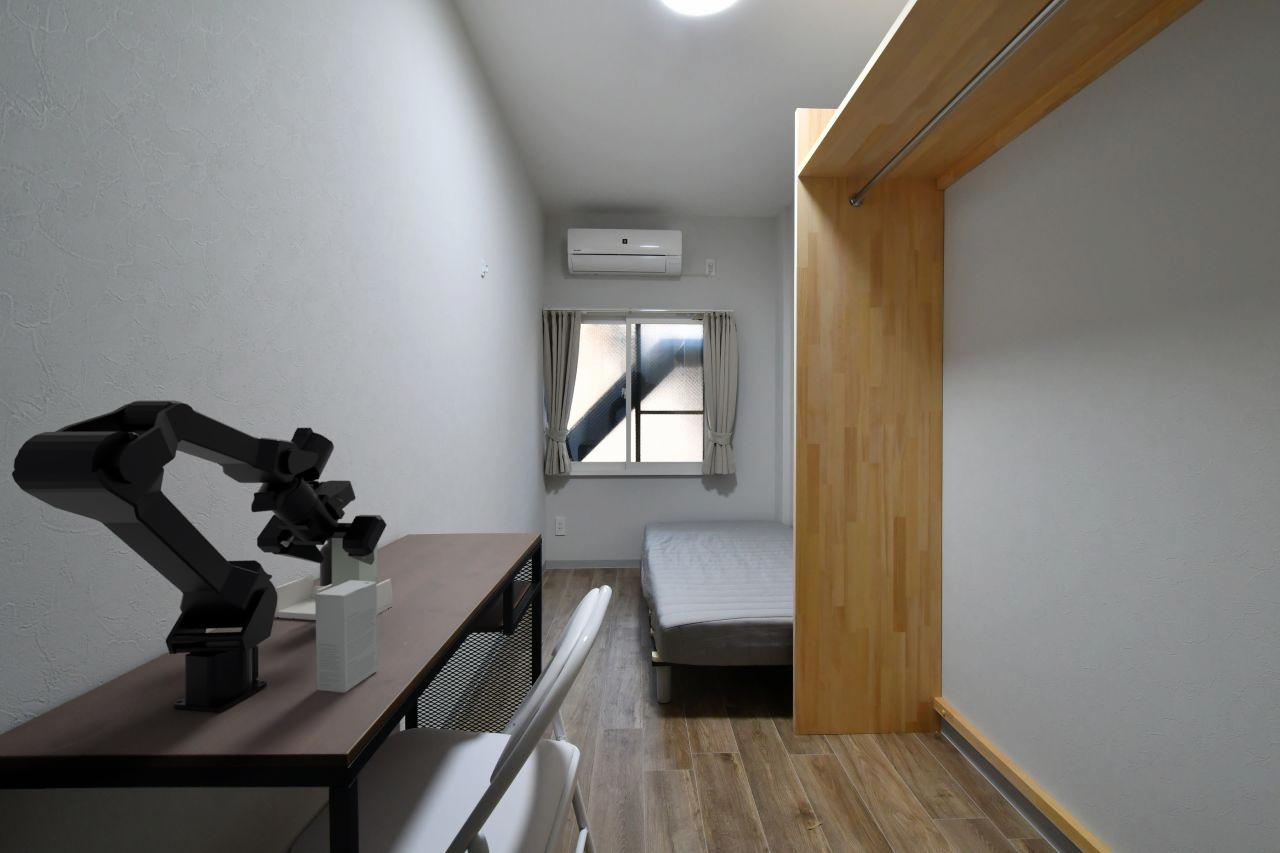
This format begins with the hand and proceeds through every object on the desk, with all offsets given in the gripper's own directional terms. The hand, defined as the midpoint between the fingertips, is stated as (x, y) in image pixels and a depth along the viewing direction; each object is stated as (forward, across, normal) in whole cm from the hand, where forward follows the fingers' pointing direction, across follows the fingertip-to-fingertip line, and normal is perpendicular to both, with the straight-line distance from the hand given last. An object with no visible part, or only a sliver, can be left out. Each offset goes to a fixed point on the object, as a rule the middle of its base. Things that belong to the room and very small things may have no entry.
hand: (346, 561), depth 89 cm
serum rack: (+9, +4, +5) cm, 11 cm away
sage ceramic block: (+8, 0, +4) cm, 9 cm away
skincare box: (-7, -15, +22) cm, 27 cm away
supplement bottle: (+17, +12, -3) cm, 21 cm away
